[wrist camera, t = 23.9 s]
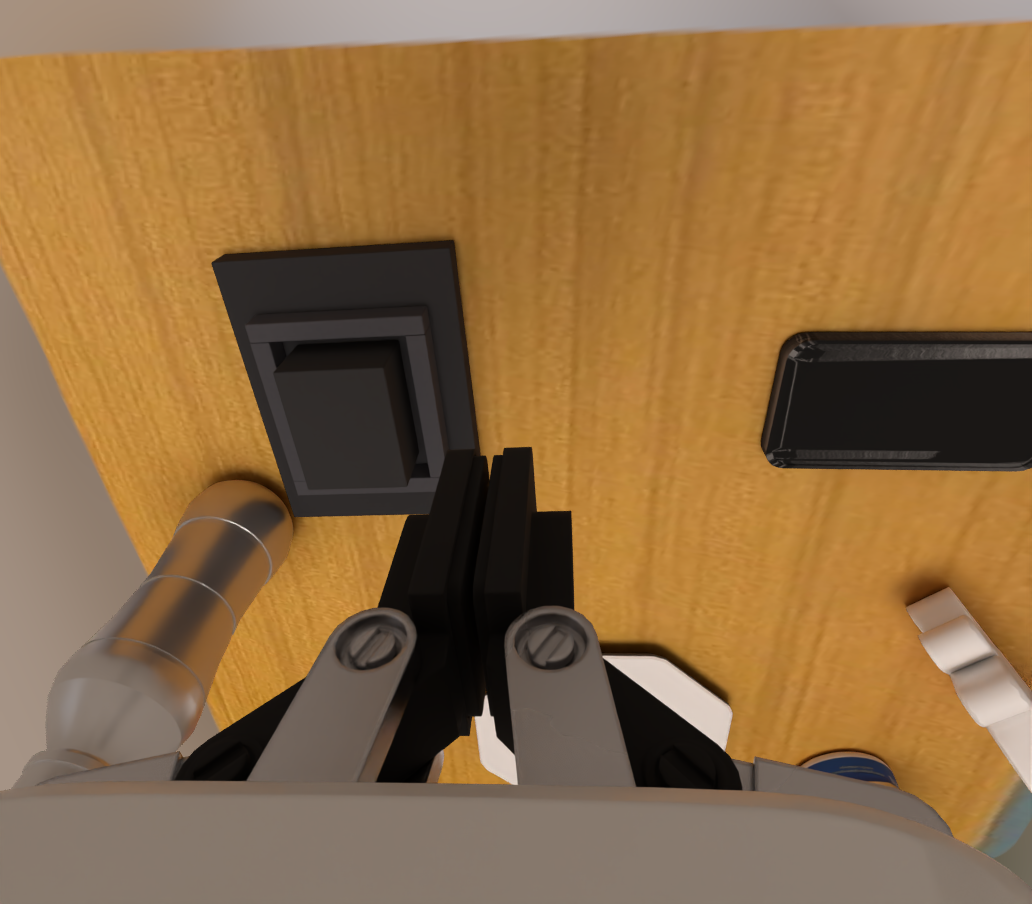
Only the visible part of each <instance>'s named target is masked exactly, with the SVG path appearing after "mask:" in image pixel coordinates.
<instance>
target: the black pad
mask: <svg viewBox="0 0 1032 904" xmlns="http://www.w3.org/2000/svg"><path fill="white" fill-rule="evenodd" d="M273 375H274V379H275V382H276V385H277V388H278V392H279V395H280V398H281V402H282V405H283V408H284V411H285V415H286V418H287V421H288V425H289V428H290V431H291V435H292V438H293V441H294V444H295V448H296V451H297V454H298V458H299V461H300V464H301V467H302V471H303V474H304V477H305V481H306V484H307V487H308V489H309V490H323V489H359V488H395V487H407V486H408V483H409V480H410V478H411V475H412V472H413V469H414V466H415V463H416V460H417V457H418V454H419V448H418V443H417V437H416V432H415V426H414V421H413V415H412V410H411V405H410V399H409V394H408V388H407V383H406V377H405V372H404V366H403V361H402V355H401V350H400V345H399V341H398V340H386V341H365V342H345V343H324V344H303V345H297V346H296V347H295V348H294V349H293V350H292V352H291V353H290V354H289V355H288V356H287V357H286V358H285V360H284V361H283V362H282V363H281V364H280V365H279V366H278V368H277V369H276V370H275V371H274V372H273Z"/></svg>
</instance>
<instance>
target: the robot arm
mask: <svg viewBox="0 0 1032 904" xmlns="http://www.w3.org/2000/svg"><path fill="white" fill-rule="evenodd" d="M485 690H486V691H487V698H488V704H489V711H490V716H491V717H494V723H495V730H496V737H497V738H498V739H499V740H500V741H501V742H502V743H503V744H504V745H505V746H506V747H507V748H508V749H509V750H510V751H511V752H512V753H513V754H514V755H515V761H516V771H517V782H518V785H506V784H441V783H437V782H438V779H439V776H440V773H441V770H442V766H443V759H444V752H443V749H444V748H446V747H447V746H448V745H449V744H451V743H452V742H453V741H454V740H456V739H457V738H458V737H459V736H470V728H471V720H472V716H475V717H481V716H482V714H483V708H484V699H485ZM0 904H1032V889H1031V888H1030V887H1029V886H1028V885H1027V884H1026V883H1025V882H1024V881H1023V880H1022V879H1021V878H1019V877H1018V876H1017V875H1015V874H1014V873H1013V872H1012V871H1010V870H1009V869H1008V868H1006V867H1005V866H1003V865H1002V864H1000V863H999V862H997V861H995V860H994V859H992V858H991V857H989V856H987V855H986V854H984V853H982V852H980V851H979V850H977V849H975V848H973V847H971V846H969V845H967V844H965V843H963V842H961V841H959V840H957V839H955V838H954V837H953V835H952V833H951V830H950V828H949V826H948V825H947V824H946V823H945V821H944V820H943V819H942V818H941V817H940V816H939V815H938V813H937V812H936V811H935V810H934V809H933V808H932V807H930V806H929V805H928V804H926V803H925V802H923V801H922V800H920V799H919V798H918V797H916V796H915V795H912V794H910V793H907V792H905V791H902V790H899V789H897V788H894V787H889V786H885V785H880V784H876V783H871V782H867V781H862V780H858V779H853V778H849V777H844V776H840V775H835V774H831V773H826V772H822V771H817V770H813V769H808V768H804V767H799V766H795V765H790V764H786V763H781V762H777V761H772V760H768V759H763V758H759V757H755V758H754V763H749V762H744V761H740V760H735V759H731V758H730V756H729V755H728V754H727V753H726V752H725V751H724V750H723V749H722V748H721V747H720V746H719V745H718V744H717V743H715V742H714V741H713V740H711V739H710V738H709V737H707V736H706V735H705V734H703V733H702V732H701V731H699V730H698V729H697V728H695V727H694V726H693V725H691V724H690V723H689V722H687V721H686V720H685V719H684V718H682V717H681V716H680V715H678V714H677V713H676V712H674V711H673V710H672V709H670V708H669V707H668V706H666V705H665V704H664V703H662V702H661V701H660V700H658V699H657V698H656V697H654V696H653V695H652V694H650V693H649V692H648V691H646V690H645V689H644V688H642V687H641V686H640V685H638V684H637V683H636V682H634V681H633V680H632V679H631V678H629V677H628V676H627V675H625V674H624V673H623V672H621V671H620V670H619V669H617V668H616V667H615V666H613V665H612V664H611V663H609V662H608V661H607V660H605V659H604V658H603V657H602V653H601V649H600V645H599V641H598V637H597V634H596V632H595V630H594V628H593V625H592V624H591V623H590V622H589V621H588V620H587V619H586V618H585V617H584V616H583V615H582V614H580V613H578V612H576V611H574V579H573V547H572V519H571V511H548V512H537V508H536V494H535V480H534V467H533V453H532V447H517V448H504V451H503V455H494V457H493V462H492V468H491V475H490V480H489V472H488V463H487V458H486V456H477V452H476V450H475V449H456V450H447V452H446V456H445V459H444V463H443V466H442V470H441V474H440V477H439V481H438V484H437V488H436V492H435V495H434V499H433V502H432V506H431V510H430V513H429V514H422V515H409V516H408V517H407V519H406V521H405V524H404V527H403V530H402V534H401V537H400V540H399V543H398V546H397V549H396V552H395V555H394V558H393V561H392V565H391V568H390V571H389V574H388V577H387V580H386V583H385V586H384V589H383V592H382V595H381V599H380V602H379V605H378V608H372V609H368V610H364V611H361V612H359V613H357V614H354V615H352V616H350V617H348V618H347V619H346V620H345V621H343V622H342V623H341V624H339V625H338V626H337V627H336V629H335V630H334V631H333V633H332V634H331V635H330V637H329V638H328V640H327V642H326V644H325V645H324V647H323V649H322V650H321V652H320V654H319V656H318V657H317V659H316V661H315V663H314V664H313V666H312V668H311V670H310V671H309V673H308V675H307V677H305V678H304V679H302V680H301V681H299V682H298V683H296V684H294V685H293V686H291V687H290V688H288V689H287V690H285V691H284V692H282V693H280V694H279V695H277V696H276V697H274V698H273V699H271V700H270V701H268V702H266V703H265V704H263V705H262V706H260V707H259V708H257V709H255V710H254V711H252V712H251V713H249V714H248V715H246V716H245V717H243V718H241V719H240V720H238V721H237V722H235V723H234V724H232V725H231V726H229V727H227V728H226V729H224V730H223V731H221V732H220V733H218V734H216V735H215V736H213V737H212V738H210V739H209V740H207V741H206V742H205V743H204V744H202V745H201V746H200V747H198V748H197V749H196V750H195V751H194V752H193V753H192V754H191V755H190V756H188V757H183V756H182V755H181V753H180V751H177V752H172V753H167V754H163V755H158V756H153V757H148V758H143V759H138V760H134V761H129V762H124V763H119V764H114V765H109V766H105V767H100V768H95V769H90V770H85V771H80V772H76V773H71V774H66V775H61V776H57V777H54V778H51V779H48V780H45V781H43V782H40V783H38V784H37V785H35V786H31V787H24V788H17V789H9V790H4V791H0Z"/></svg>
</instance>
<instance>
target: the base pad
mask: <svg viewBox="0 0 1032 904" xmlns="http://www.w3.org/2000/svg"><path fill="white" fill-rule="evenodd" d="M212 267H213V270H214V273H215V276H216V279H217V282H218V285H219V288H220V291H221V294H222V297H223V300H224V303H225V306H226V309H227V313H228V316H229V319H230V322H231V325H232V328H233V331H234V334H235V337H236V340H237V343H238V346H239V349H240V352H241V355H242V358H243V361H244V364H245V368H246V371H247V374H248V377H249V380H250V383H251V386H252V389H253V392H254V395H255V398H256V401H257V404H258V407H259V410H260V413H261V416H262V419H263V422H264V426H265V429H266V432H267V435H268V438H269V441H270V444H271V447H272V450H273V453H274V456H275V459H276V462H277V465H278V468H279V471H280V474H281V477H282V481H283V484H284V487H285V490H286V493H287V496H288V499H289V502H290V505H291V508H292V511H293V514H294V517H321V516H362V515H404V514H429V513H430V510H431V506H432V502H433V499H434V495H435V492H436V488H437V484H438V481H439V477H440V474H441V470H442V466H443V463H444V459H445V456H446V452H447V450H456V449H475V450H476V452H477V456H480V448H479V440H478V432H477V423H476V415H475V407H474V399H473V391H472V383H471V375H470V367H469V359H468V351H467V342H466V334H465V326H464V318H463V310H462V302H461V294H460V286H459V278H458V269H457V261H456V253H455V245H454V241H453V240H449V241H433V242H417V243H401V244H384V245H368V246H352V247H336V248H320V249H304V250H288V251H271V252H255V253H239V254H224V255H223V256H221V257H220V258H218V259H216V260H215V261H213V262H212ZM386 340H398V341H399V345H400V350H401V355H402V361H403V366H404V372H405V377H406V383H407V388H408V394H409V399H410V405H411V410H412V415H413V421H414V426H415V432H416V437H417V443H418V448H419V454H418V457H417V460H416V463H415V466H414V469H413V472H412V475H411V478H410V480H409V483H408V486H407V487H395V488H359V489H323V490H309V489H308V487H307V484H306V481H305V477H304V474H303V471H302V467H301V464H300V461H299V458H298V454H297V451H296V448H295V444H294V441H293V438H292V435H291V431H290V428H289V425H288V421H287V418H286V415H285V411H284V408H283V405H282V402H281V398H280V395H279V392H278V388H277V385H276V382H275V379H274V375H273V372H274V371H275V370H276V369H277V368H278V366H279V365H280V364H281V363H282V362H283V361H284V360H285V358H286V357H287V356H288V355H289V354H290V353H291V352H292V350H293V349H294V348H295V347H296V346H297V345H303V344H324V343H345V342H365V341H386Z"/></svg>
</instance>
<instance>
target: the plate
mask: <svg viewBox="0 0 1032 904" xmlns="http://www.w3.org/2000/svg"><path fill="white" fill-rule="evenodd" d="M602 657H603V658H604V659H605V660H607V661H608V662H609V663H611V664H612V665H613V666H615V667H616V668H617V669H619V670H620V671H621V672H623V673H624V674H625V675H627V676H628V677H629V678H631V679H632V680H633V681H634V682H636V683H637V684H638V685H640V686H641V687H642V688H644V689H645V690H646V691H648V692H649V693H650V694H652V695H653V696H654V697H656V698H657V699H658V700H660V701H661V702H662V703H664V704H665V705H666V706H668V707H669V708H670V709H672V710H673V711H674V712H676V713H677V714H678V715H680V716H681V717H682V718H684V719H685V720H686V721H687V722H689V723H690V724H691V725H693V726H694V727H695V728H697V729H698V730H699V731H701V732H702V733H703V734H705V735H706V736H707V737H709V738H710V739H711V740H713V741H714V742H715V743H717V744H718V745H719V746H720V747H721V748H722V749H723V750H724V751H725V748H726V744H727V739H728V734H729V729H730V725H731V720H732V715H733V713H732V710H731V708H730V706H729V704H728V703H727V702H725V701H724V700H723V699H721V698H720V697H718V696H717V695H716V694H714V693H713V692H712V691H710V690H709V689H708V688H706V687H705V686H703V685H702V684H701V683H699V682H698V681H697V680H695V679H694V678H693V677H691V676H690V675H688V674H687V673H686V672H684V671H683V670H682V669H680V668H679V667H677V666H676V665H675V664H673V663H672V662H671V661H669V660H668V659H667V658H665V657H662V656H659V655H655V654H638V653H602ZM475 723H476V731H477V738H478V746H479V753H480V761H481V763H482V764H483V766H484V767H485V768H486V769H487V770H488V771H490V772H492V773H493V774H495V775H497V776H499V777H501V778H502V779H504V780H506V781H508V782H509V783H511V784H513V785H518V782H517V771H516V761H515V755H514V754H513V753H512V752H511V751H510V750H509V749H508V748H507V747H506V746H505V745H504V744H503V743H502V742H501V741H500V740H499V739H498V738H497V737H496V730H495V723H494V717H491V716H490V711H489V704H488V698H487V693H486V694H485V699H484V708H483V714H482V716H481V717H475Z"/></svg>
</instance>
